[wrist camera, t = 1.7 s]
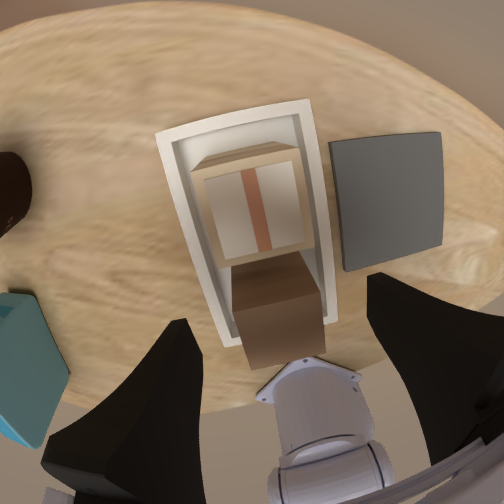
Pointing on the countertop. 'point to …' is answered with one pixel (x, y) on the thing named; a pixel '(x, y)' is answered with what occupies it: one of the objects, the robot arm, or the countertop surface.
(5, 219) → the coffee mug
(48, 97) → the countertop surface
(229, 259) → the labelled box
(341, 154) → the mat
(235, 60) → the countertop surface
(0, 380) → the data package
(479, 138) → the countertop surface
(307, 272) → the walnut box
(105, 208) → the countertop surface
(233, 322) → the bin
